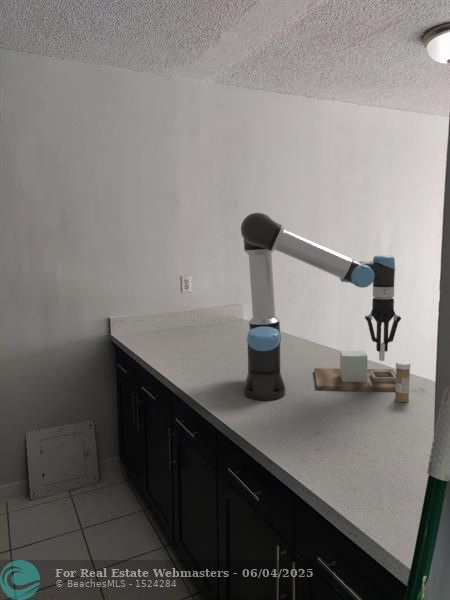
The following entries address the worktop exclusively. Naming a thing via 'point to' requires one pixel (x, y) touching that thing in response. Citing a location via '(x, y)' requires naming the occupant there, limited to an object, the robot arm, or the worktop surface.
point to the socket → (383, 376)
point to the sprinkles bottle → (402, 381)
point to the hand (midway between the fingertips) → (381, 359)
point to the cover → (353, 366)
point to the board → (332, 381)
